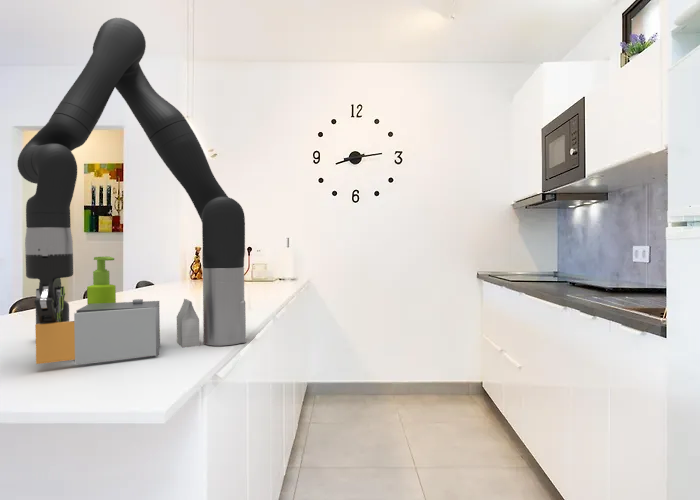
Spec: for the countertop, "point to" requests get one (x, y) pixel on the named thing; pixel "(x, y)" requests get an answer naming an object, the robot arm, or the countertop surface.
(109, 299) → the soap dispenser
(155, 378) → the countertop surface
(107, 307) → the camera housing
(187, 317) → the grey gable top carton
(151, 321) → the side door
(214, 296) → the robot arm
